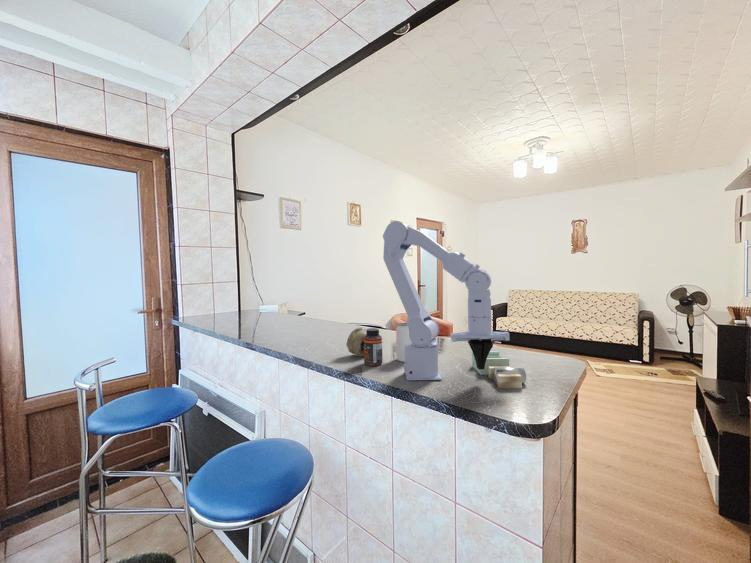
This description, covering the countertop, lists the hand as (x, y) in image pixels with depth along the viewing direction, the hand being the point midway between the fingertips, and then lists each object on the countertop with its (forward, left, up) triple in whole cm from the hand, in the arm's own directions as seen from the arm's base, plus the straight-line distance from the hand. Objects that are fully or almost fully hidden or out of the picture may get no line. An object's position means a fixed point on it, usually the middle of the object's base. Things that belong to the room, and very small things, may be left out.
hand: (480, 368), depth 80 cm
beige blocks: (+6, 0, -4) cm, 7 cm away
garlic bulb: (-34, +28, -4) cm, 44 cm away
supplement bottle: (-29, +18, -4) cm, 34 cm away
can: (-18, +22, -4) cm, 29 cm away
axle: (+7, 0, -4) cm, 8 cm away
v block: (+6, +10, -4) cm, 12 cm away
